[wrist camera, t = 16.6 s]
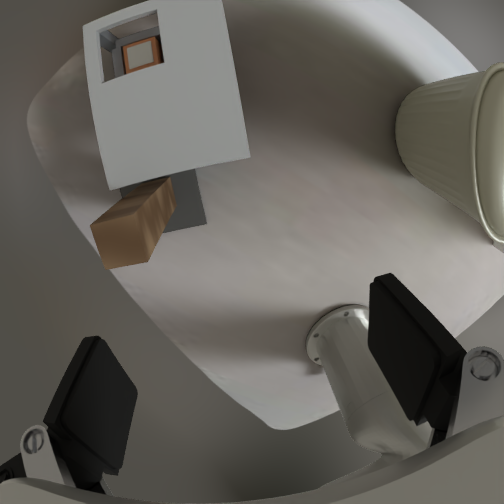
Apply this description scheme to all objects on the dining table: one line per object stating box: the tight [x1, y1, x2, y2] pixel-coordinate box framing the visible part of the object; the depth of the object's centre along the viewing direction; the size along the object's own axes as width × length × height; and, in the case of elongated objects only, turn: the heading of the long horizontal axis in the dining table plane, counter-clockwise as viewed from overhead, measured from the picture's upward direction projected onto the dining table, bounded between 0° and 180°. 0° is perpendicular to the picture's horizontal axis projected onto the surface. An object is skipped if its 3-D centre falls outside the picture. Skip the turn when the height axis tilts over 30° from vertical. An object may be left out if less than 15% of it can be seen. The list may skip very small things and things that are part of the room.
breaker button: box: [123, 37, 164, 74], centre depth 21 cm, size 3×3×4 cm
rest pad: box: [120, 169, 207, 233], centre depth 30 cm, size 9×9×1 cm
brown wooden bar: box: [90, 177, 177, 270], centre depth 23 cm, size 3×3×14 cm
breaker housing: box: [83, 0, 251, 191], centre depth 22 cm, size 16×12×9 cm
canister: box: [395, 62, 504, 244], centre depth 20 cm, size 18×18×21 cm
